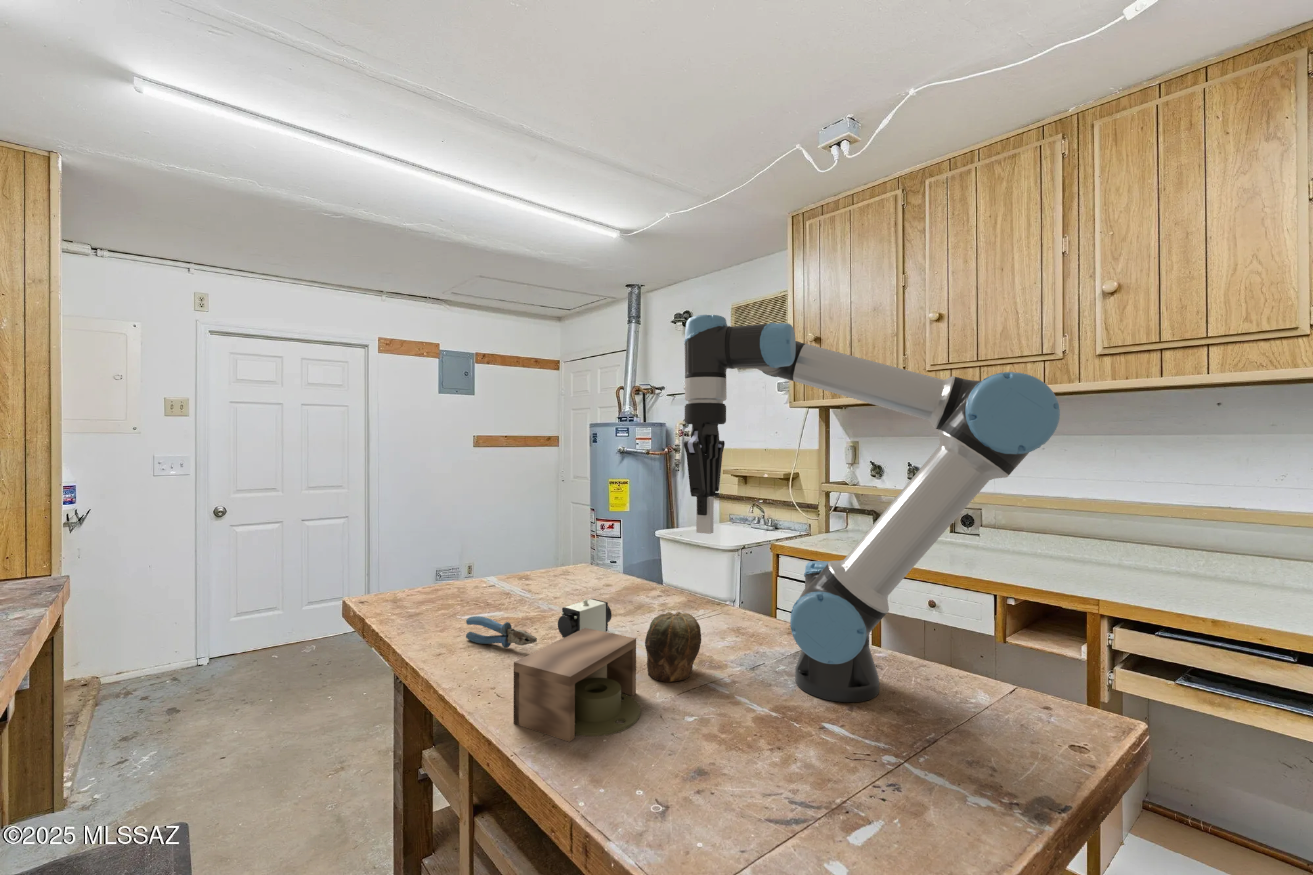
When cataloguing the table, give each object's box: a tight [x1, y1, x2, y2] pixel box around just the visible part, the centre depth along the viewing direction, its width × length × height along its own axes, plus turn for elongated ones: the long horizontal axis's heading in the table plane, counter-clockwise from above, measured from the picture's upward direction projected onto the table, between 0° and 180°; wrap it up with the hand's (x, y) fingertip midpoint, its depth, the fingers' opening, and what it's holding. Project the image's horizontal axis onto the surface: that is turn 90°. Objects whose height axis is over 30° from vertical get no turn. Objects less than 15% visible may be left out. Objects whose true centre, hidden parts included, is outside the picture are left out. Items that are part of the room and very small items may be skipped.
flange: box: [575, 678, 641, 737], centre depth 98 cm, size 5×15×15 cm
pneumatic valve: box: [557, 598, 613, 639], centre depth 123 cm, size 6×12×12 cm, turn 141°
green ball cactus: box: [644, 611, 702, 683], centre depth 114 cm, size 11×11×12 cm
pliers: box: [465, 615, 538, 649], centre depth 128 cm, size 20×2×6 cm, turn 61°
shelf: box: [513, 628, 637, 743], centre depth 100 cm, size 12×19×10 cm, turn 151°
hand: (704, 532), depth 105 cm, fingers closed
